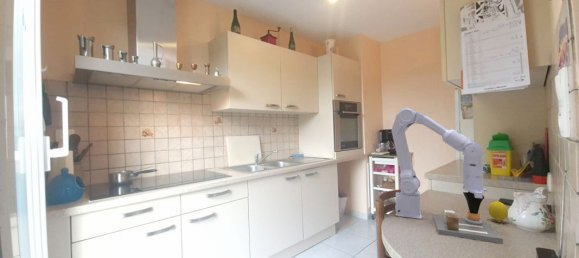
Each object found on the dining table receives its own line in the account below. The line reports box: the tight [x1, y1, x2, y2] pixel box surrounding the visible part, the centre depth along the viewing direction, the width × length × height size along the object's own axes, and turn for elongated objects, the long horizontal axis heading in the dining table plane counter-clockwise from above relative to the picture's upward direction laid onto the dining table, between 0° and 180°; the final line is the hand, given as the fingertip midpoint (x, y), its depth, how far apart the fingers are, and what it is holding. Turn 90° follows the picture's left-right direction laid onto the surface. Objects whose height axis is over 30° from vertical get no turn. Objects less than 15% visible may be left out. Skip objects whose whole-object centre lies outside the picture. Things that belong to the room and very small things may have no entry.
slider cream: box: [443, 209, 456, 223], centre depth 87 cm, size 3×3×4 cm
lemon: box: [488, 200, 509, 223], centre depth 92 cm, size 6×6×8 cm
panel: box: [432, 214, 504, 244], centre depth 85 cm, size 17×16×2 cm
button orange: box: [466, 210, 481, 220], centre depth 88 cm, size 4×4×2 cm
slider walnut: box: [446, 214, 460, 230], centre depth 82 cm, size 3×3×4 cm
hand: (473, 213), depth 88 cm, fingers closed, pressing on button orange
